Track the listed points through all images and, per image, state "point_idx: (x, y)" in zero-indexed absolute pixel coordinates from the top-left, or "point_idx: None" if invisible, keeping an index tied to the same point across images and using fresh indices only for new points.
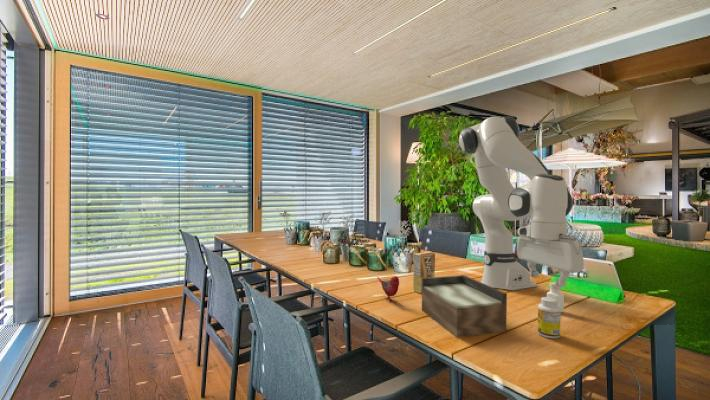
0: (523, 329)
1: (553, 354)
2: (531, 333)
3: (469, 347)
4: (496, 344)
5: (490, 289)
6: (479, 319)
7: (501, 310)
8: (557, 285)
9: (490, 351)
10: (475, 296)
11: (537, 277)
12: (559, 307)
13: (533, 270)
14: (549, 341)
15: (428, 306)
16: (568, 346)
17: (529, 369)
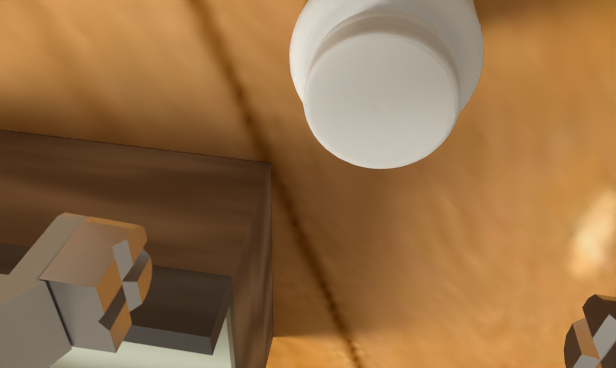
0: (269, 60)
1: (567, 165)
2: None
3: (356, 349)
4: (372, 278)
5: None
6: (257, 328)
7: (244, 272)
8: (579, 337)
9: (410, 324)
10: None
11: (145, 237)
12: (451, 4)
13: (52, 334)
14: None
15: None
16: (565, 10)
17: (579, 317)
